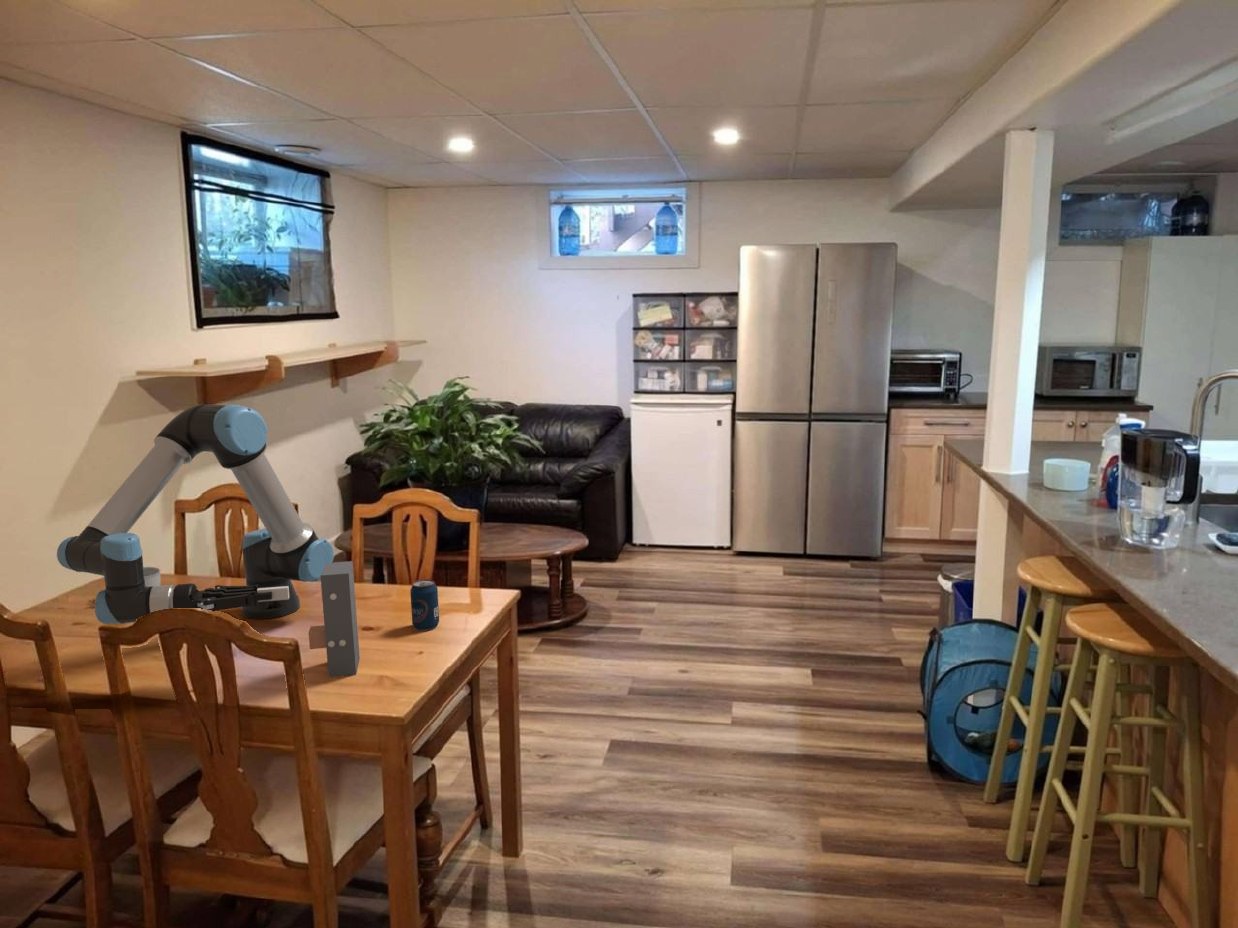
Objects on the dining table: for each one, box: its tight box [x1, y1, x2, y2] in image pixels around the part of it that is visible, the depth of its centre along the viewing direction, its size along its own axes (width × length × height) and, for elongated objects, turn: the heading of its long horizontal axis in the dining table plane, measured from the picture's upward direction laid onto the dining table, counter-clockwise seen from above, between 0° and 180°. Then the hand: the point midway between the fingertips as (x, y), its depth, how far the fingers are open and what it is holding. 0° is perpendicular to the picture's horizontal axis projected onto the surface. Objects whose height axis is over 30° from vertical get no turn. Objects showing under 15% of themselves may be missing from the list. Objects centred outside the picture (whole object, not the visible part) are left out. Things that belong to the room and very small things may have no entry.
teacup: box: [143, 566, 162, 587], centre depth 257 cm, size 14×11×8 cm
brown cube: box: [307, 624, 326, 650], centre depth 202 cm, size 4×4×4 cm
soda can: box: [409, 579, 440, 632], centre depth 229 cm, size 7×7×12 cm
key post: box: [320, 560, 360, 678], centre depth 202 cm, size 6×10×24 cm, turn 12°
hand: (288, 592), depth 199 cm, fingers closed
